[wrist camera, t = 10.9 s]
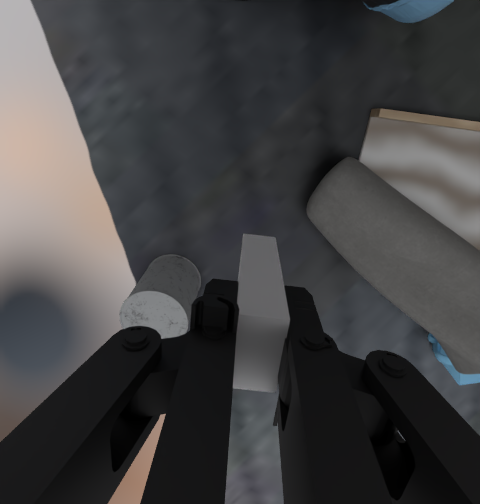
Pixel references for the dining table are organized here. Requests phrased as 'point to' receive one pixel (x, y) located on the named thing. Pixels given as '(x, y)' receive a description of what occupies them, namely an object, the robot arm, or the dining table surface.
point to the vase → (404, 256)
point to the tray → (429, 164)
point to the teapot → (444, 359)
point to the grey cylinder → (163, 296)
